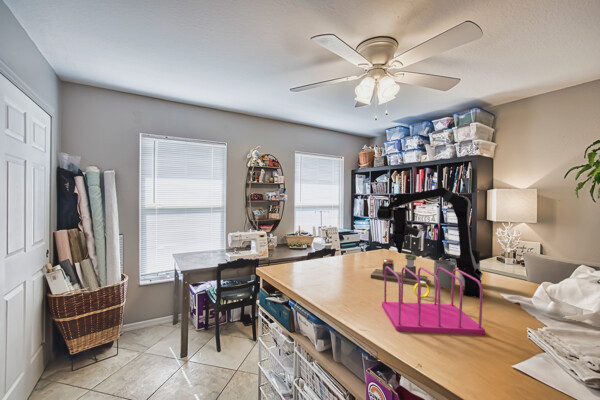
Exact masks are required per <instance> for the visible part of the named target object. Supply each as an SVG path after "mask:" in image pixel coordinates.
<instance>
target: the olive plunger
mask: <svg viewBox="0 0 600 400" xmlns="http://www.w3.org/2000/svg"><path fill="white" fill-rule="evenodd" d="M405 259H406V265H407V267H409V268H414V266H415V261H416V260H417V254H409V253H405Z"/></svg>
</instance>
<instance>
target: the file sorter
mask: <svg viewBox="0 0 600 400" xmlns="http://www.w3.org/2000/svg"><path fill="white" fill-rule="evenodd" d="M387 269H389V270H390V271H391V272H392V273H393V274H394V275H395V276H396V277H397V279H398V282H397V283H398V301H387V281H386V271H387ZM405 269H406V270H407V271H408V272H410V273H411V274H412V275H413V276H415V277H416V278H417V280H418V286H417V295H418V296H417V302H403V301H404V283H403V273H404V272H405ZM439 269H441V270H443V271H445V272H446V273H448V274H450V275H451V276H452V288H451V294H450V295H451V296H450V297H451V298H450V303H449V304H448V303H441V287H440V282H439V279H438V271H439ZM421 270H422V271H424V272H425V273H428V274H429V275H430V276H433V278H434V277H435V278H436V282H435V284H434V287H435V288H434V302H433V303H428V302H427V303H425V302H421V301H422V297H421V295H422V290H421V289H422V286H421V283H420V275H421ZM455 271H456V272H458V273H459V272H460V273H462V274H464V275H466V276H468V277H469V278H471V279H473V280H475V281H476V282H477V283H478V284H479V287H480V298H479V306H478V307H479V308H478V309H479V312H478V322H477V321H476V320H474V319H473V318H471V317H470V316H469V315H468V314H466V313H465V312H464V311H463V299H464V298H463V297H464V294H463V289H464V285H463V284H462V281H461V279H460V278H459V276H457V275H456V273H455ZM395 272H396V271H395V270H394V271H393V270H392V269H391V268H389V267H388V266H386V267H385V279H384V280H383V282H384V284H383V286H384V288H383V289H384V292H383V295H384V296H383V297H384V298H383V299H384V300H383V301H382V302H381V307H382V309H383V311H384V313H385V314H386V316H387V317H388V319H389V320H390V322H391V324H392V326H393V327H394V329H395V330H396V332H409V333H428V334H429V333H431V334H436V333H437V334H453V335H454V334H455V335H456V334H458V335H478V336H485V335H486V329H485V328H484V327H482V321H483V299H484V295H483V293H484V288H483V285H482V282H481V283H480V281H479V280H477V279H475V278H474V277H472V276H470V275H468V274H466V273H464V272H462V271H460V270H458V268H456V269H454V270H453V272H452V273H450V272H449V271H447V270H445V269H443V268H441V267H438V268H437V270H436V275H435V274H434V272H431V271H430V270H428V269H426V268H424V267H421V266H420V267H419V268H418V270H417V274H416V275H415V274H414V273H413V272H411V271H410V270H409V269H407V268H406V267H405V266H403V267H402V268H401V271H400V272H401V282H400V278H399V276H398V275H397V274H396V273H395ZM454 273H455V275H454ZM417 275H418V276H417ZM454 277H455V280H457V282H458V281H459V283H460V284H459V283H458V284H459V286H460V289H459V290H460V292H459V293H460V295H459V307H458V306H456V305H455V304H454V294H455V292H454V291H455V290H454V288H455V287H454ZM437 283H438V286H437Z"/></svg>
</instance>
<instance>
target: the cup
mask: <svg viewBox="0 0 600 400" xmlns="http://www.w3.org/2000/svg"><path fill="white" fill-rule="evenodd" d="M433 263H434V264H433V265H434V266H433V274H435V275H436V270H437V268H438V267H441V268H443V269H445V270H447V271H449V272H450V273H452V272H453V270H454V269H457V268H456V266H457V263H455V262H453V261H450V260H441V259H438V260H437V259H436V260H434V262H433ZM456 272H457V271H455V273H454V275H455V276H456V274H457V273H456ZM438 279H439V282H440V288H444V289H447V288H448V289H452V276H451V275H450V274H448V273H446V272H445V271H443V270H441V269H439V271H438ZM435 282H436V278H435V277H434V276H433V284H434V285H435ZM437 287H438V283H437ZM455 287H456V278H455V277H454V288H455Z"/></svg>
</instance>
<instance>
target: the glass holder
mask: <svg viewBox="0 0 600 400" xmlns="http://www.w3.org/2000/svg"><path fill="white" fill-rule="evenodd" d="M471 250H472V254H473V256H474V259H475V262H476V265H477V268H478V269H479V270H480V269H481V261H480V256H481V255H480V253H481V252H480V250H475V249H471ZM480 271H481V270H480ZM458 277H459V278H460V279H461V281H462V284H463V286H464V284H465V280H464V277H463V275H462V274H461V273H460V272H458ZM457 283H458V284H459V285H460V283H459V281H458V280H457Z"/></svg>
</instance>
